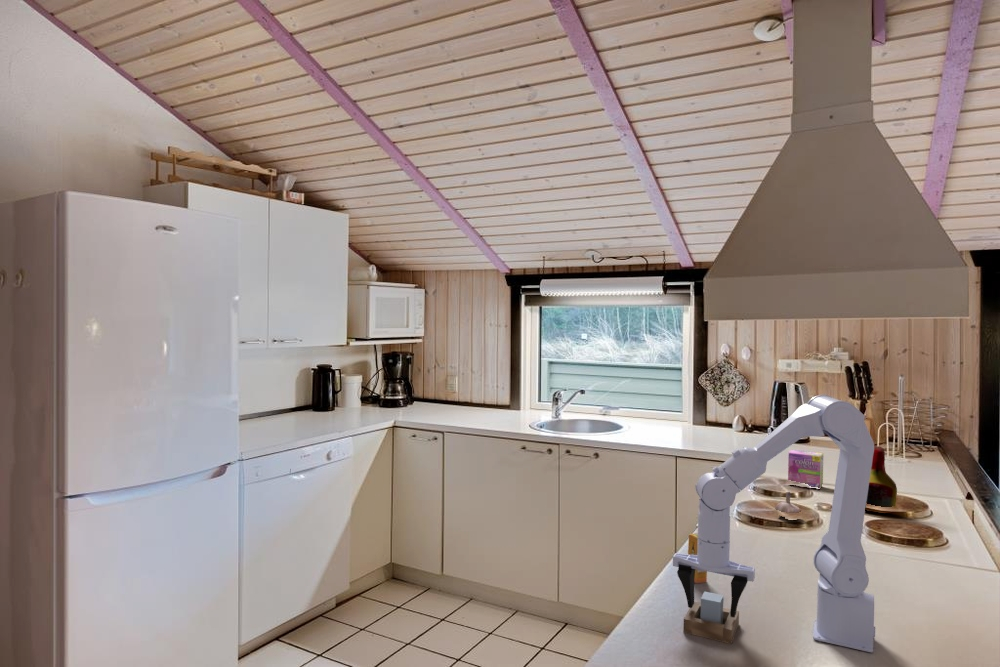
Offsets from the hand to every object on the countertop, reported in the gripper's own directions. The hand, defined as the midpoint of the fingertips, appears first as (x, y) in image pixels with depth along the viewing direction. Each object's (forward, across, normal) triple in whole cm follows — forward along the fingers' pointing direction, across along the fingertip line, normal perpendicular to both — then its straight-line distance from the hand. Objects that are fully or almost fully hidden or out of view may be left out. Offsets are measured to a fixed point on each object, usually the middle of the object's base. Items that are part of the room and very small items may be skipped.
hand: (711, 610), depth 122 cm
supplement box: (+4, +7, -22) cm, 23 cm away
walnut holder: (+3, 0, 0) cm, 3 cm away
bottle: (+4, -29, -102) cm, 106 cm away
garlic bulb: (+4, -7, -80) cm, 81 cm away
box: (+4, -9, -124) cm, 124 cm away
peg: (+3, 0, 0) cm, 3 cm away
